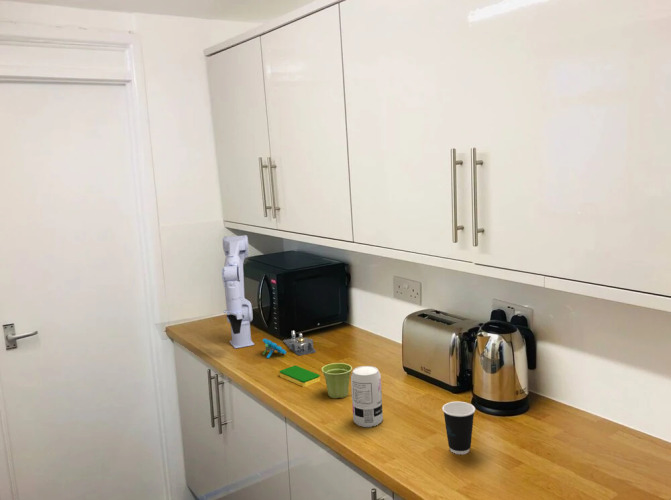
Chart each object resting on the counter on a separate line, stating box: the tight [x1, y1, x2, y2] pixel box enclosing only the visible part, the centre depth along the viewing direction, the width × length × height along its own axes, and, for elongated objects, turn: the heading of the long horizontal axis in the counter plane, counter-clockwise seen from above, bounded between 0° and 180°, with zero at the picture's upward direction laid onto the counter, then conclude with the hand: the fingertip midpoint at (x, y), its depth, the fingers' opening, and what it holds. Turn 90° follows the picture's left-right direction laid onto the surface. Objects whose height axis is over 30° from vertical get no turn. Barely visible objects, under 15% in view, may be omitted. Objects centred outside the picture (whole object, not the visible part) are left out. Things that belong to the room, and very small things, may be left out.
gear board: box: [282, 330, 317, 356], centre depth 230 cm, size 18×9×6 cm, turn 23°
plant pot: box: [321, 362, 353, 399], centre depth 183 cm, size 9×9×9 cm
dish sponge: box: [278, 364, 321, 388], centre depth 199 cm, size 7×14×2 cm, turn 41°
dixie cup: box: [442, 401, 476, 456], centre depth 146 cm, size 8×8×11 cm
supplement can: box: [350, 365, 384, 428], centre depth 163 cm, size 8×8×15 cm
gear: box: [262, 338, 287, 359], centre depth 221 cm, size 11×6×10 cm
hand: (236, 333), depth 220 cm, fingers closed
